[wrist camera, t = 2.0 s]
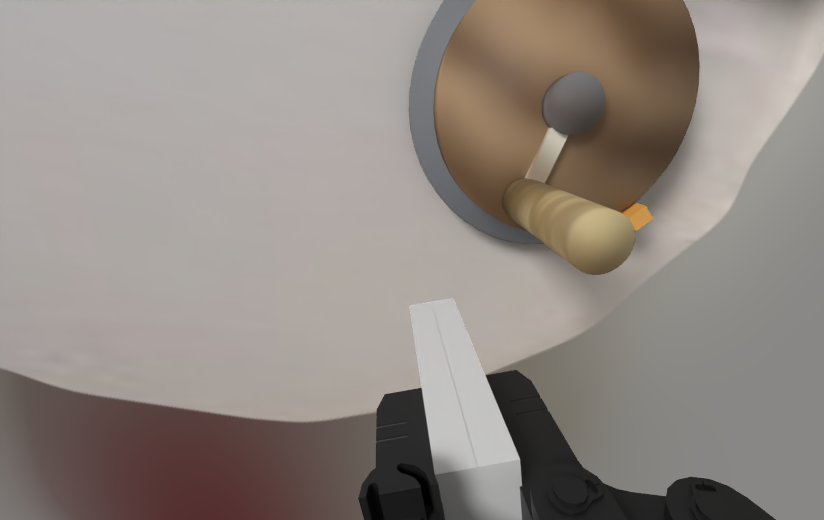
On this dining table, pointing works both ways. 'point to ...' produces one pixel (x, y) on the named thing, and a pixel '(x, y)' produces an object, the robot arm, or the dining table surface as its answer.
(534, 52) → the dial
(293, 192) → the dining table surface
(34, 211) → the dining table surface
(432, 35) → the dial base
